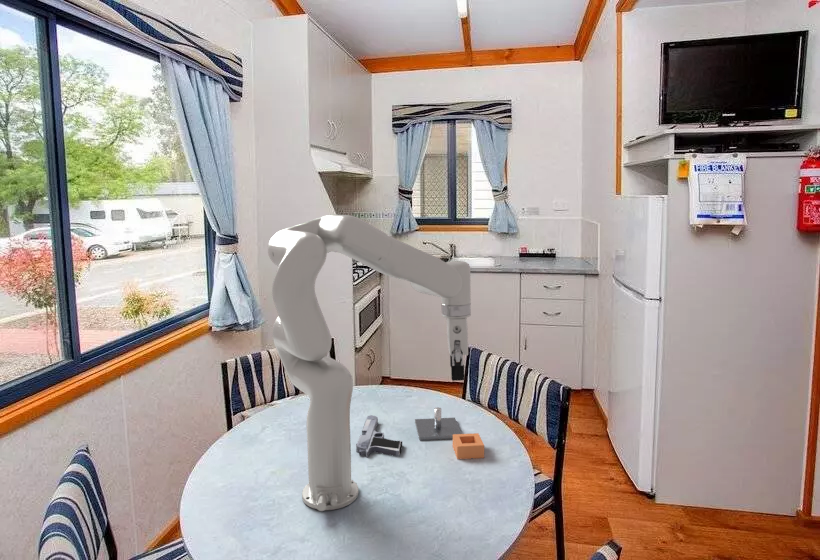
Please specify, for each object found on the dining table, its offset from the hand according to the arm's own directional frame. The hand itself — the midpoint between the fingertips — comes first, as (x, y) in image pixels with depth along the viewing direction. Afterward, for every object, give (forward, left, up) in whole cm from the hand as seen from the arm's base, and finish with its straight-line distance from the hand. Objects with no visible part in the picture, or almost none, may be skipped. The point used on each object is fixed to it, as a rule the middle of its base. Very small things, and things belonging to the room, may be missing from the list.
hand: (457, 373), depth 139 cm
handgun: (+8, +20, -22) cm, 30 cm away
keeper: (+12, +3, -21) cm, 24 cm away
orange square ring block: (-3, -3, -21) cm, 21 cm away
